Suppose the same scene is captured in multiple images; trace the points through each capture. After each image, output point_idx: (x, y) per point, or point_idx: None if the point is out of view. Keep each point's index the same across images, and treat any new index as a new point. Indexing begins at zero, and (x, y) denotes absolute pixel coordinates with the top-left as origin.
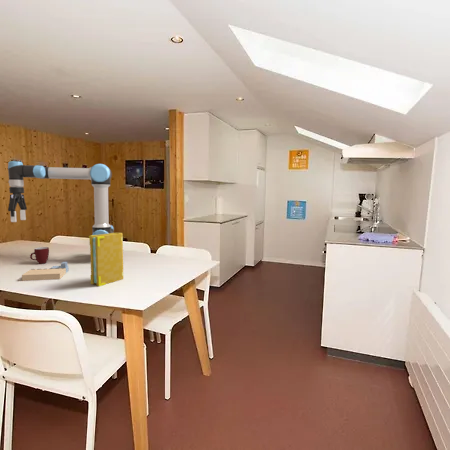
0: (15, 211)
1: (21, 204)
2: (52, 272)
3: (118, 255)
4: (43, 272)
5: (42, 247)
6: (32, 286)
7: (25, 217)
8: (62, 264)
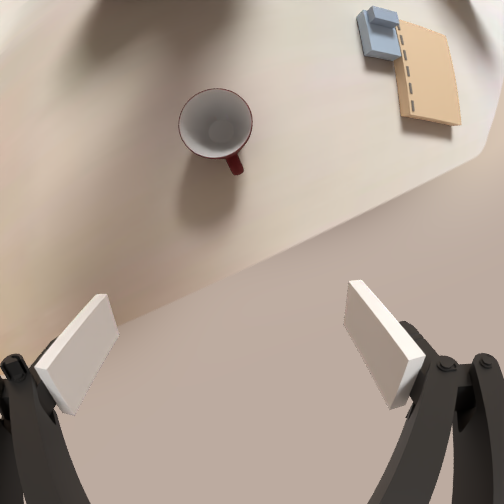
0: (418, 355)
1: (60, 471)
2: (438, 51)
3: None
4: (440, 73)
5: (181, 133)
6: (481, 95)
7: (85, 307)
8: (397, 20)
